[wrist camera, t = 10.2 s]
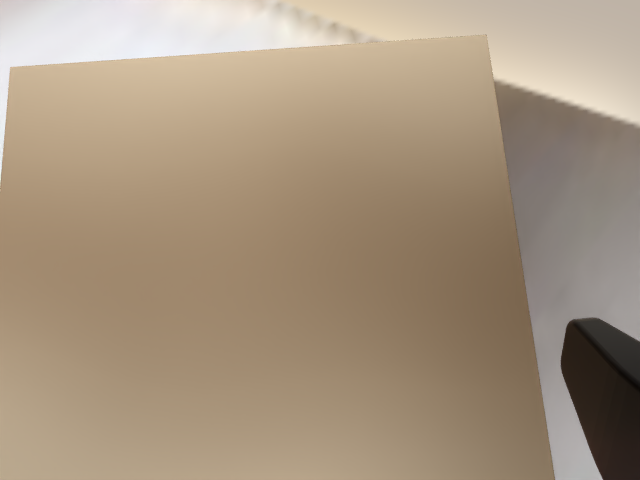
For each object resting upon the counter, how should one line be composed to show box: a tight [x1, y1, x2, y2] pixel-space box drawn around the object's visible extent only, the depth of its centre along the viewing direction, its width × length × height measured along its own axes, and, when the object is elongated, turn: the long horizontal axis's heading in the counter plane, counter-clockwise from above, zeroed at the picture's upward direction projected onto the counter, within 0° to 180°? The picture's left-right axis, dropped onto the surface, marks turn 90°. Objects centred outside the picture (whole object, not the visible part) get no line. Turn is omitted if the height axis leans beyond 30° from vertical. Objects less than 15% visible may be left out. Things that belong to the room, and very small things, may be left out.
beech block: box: [0, 35, 555, 480], centre depth 12 cm, size 5×5×13 cm
